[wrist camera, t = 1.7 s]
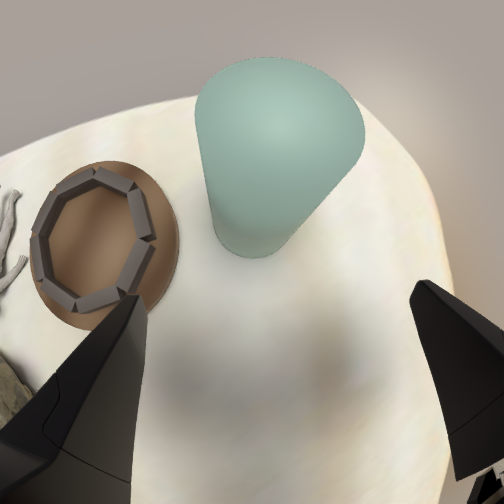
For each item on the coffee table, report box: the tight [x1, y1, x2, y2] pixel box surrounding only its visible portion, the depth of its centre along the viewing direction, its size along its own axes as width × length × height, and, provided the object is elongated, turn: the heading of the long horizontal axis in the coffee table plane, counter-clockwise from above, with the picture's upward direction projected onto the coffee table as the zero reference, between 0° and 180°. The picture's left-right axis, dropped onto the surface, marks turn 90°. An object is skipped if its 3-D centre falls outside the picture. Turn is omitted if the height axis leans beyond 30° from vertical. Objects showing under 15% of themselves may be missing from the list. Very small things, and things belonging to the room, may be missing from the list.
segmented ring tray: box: [30, 161, 179, 331], centre depth 18 cm, size 13×13×4 cm
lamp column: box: [195, 57, 365, 258], centre depth 15 cm, size 6×6×13 cm
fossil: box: [0, 356, 33, 429], centre depth 12 cm, size 14×10×10 cm
